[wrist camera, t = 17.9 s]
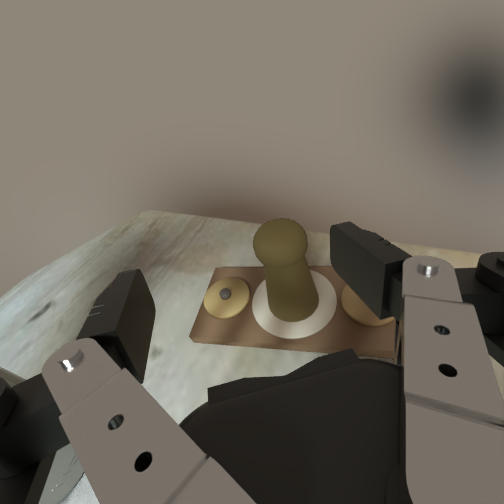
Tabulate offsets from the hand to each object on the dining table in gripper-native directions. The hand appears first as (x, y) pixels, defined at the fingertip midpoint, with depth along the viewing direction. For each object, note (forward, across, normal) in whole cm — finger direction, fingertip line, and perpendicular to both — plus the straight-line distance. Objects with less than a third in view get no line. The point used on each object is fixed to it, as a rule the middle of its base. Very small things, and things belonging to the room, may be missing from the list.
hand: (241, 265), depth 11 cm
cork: (+15, -6, +15) cm, 22 cm away
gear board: (+16, -6, +17) cm, 24 cm away
